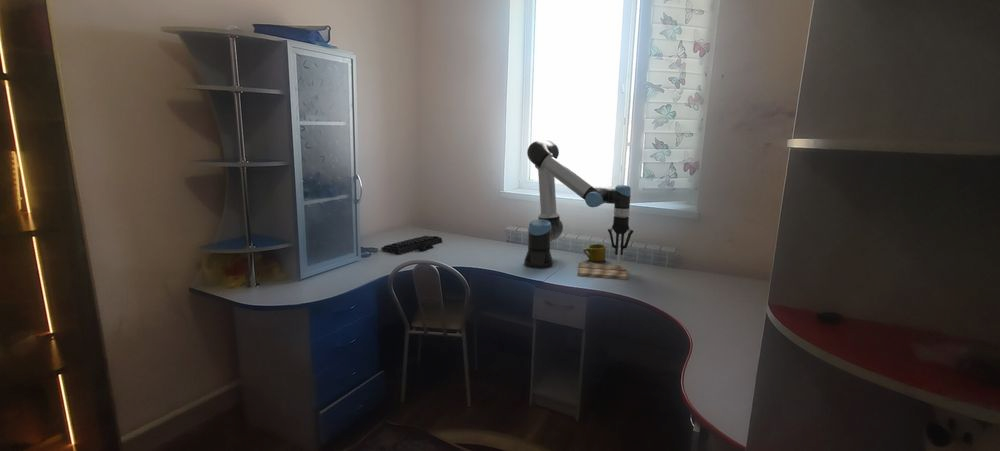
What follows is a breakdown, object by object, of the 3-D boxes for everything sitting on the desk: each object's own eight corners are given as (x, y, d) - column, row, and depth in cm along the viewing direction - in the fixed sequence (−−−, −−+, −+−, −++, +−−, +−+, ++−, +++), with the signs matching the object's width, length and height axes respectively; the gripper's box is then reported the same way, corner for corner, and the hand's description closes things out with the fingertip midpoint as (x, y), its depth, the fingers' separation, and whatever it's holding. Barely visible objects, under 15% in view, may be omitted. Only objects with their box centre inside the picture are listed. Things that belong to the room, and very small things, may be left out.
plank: (578, 269, 246) (578, 266, 246) (578, 265, 253) (578, 262, 253) (625, 273, 242) (626, 270, 242) (625, 268, 249) (625, 265, 249)
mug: (606, 254, 270) (604, 239, 265) (608, 264, 261) (606, 249, 256) (584, 256, 272) (582, 242, 267) (585, 267, 263) (583, 252, 258)
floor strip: (577, 275, 237) (577, 272, 237) (578, 270, 246) (578, 267, 245) (627, 279, 233) (627, 276, 232) (626, 273, 242) (626, 270, 241)
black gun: (424, 239, 305) (423, 232, 304) (450, 244, 293) (450, 237, 292) (379, 251, 276) (379, 243, 275) (406, 257, 264) (406, 249, 263)
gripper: (608, 216, 239) (605, 262, 244) (635, 218, 237) (631, 263, 242) (607, 214, 246) (605, 258, 251) (634, 215, 244) (630, 259, 249)
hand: (618, 260), depth 247 cm, fingers closed
